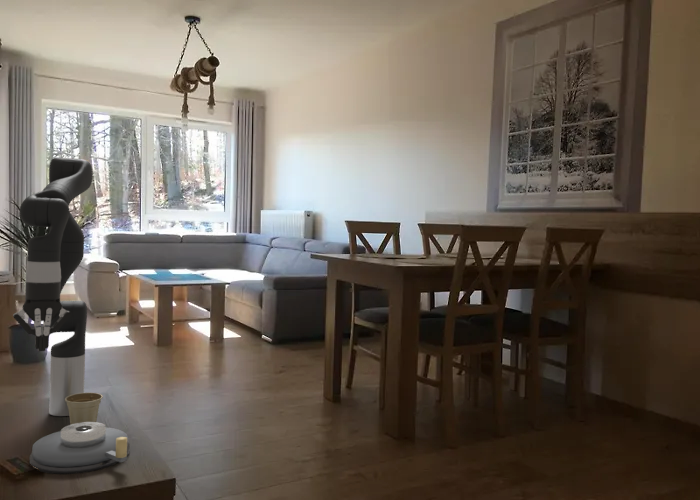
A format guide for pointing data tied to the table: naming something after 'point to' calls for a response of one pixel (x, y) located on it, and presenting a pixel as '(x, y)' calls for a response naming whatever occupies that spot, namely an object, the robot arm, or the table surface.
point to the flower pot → (83, 407)
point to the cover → (83, 435)
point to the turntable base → (74, 469)
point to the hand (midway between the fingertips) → (41, 350)
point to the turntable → (80, 450)
